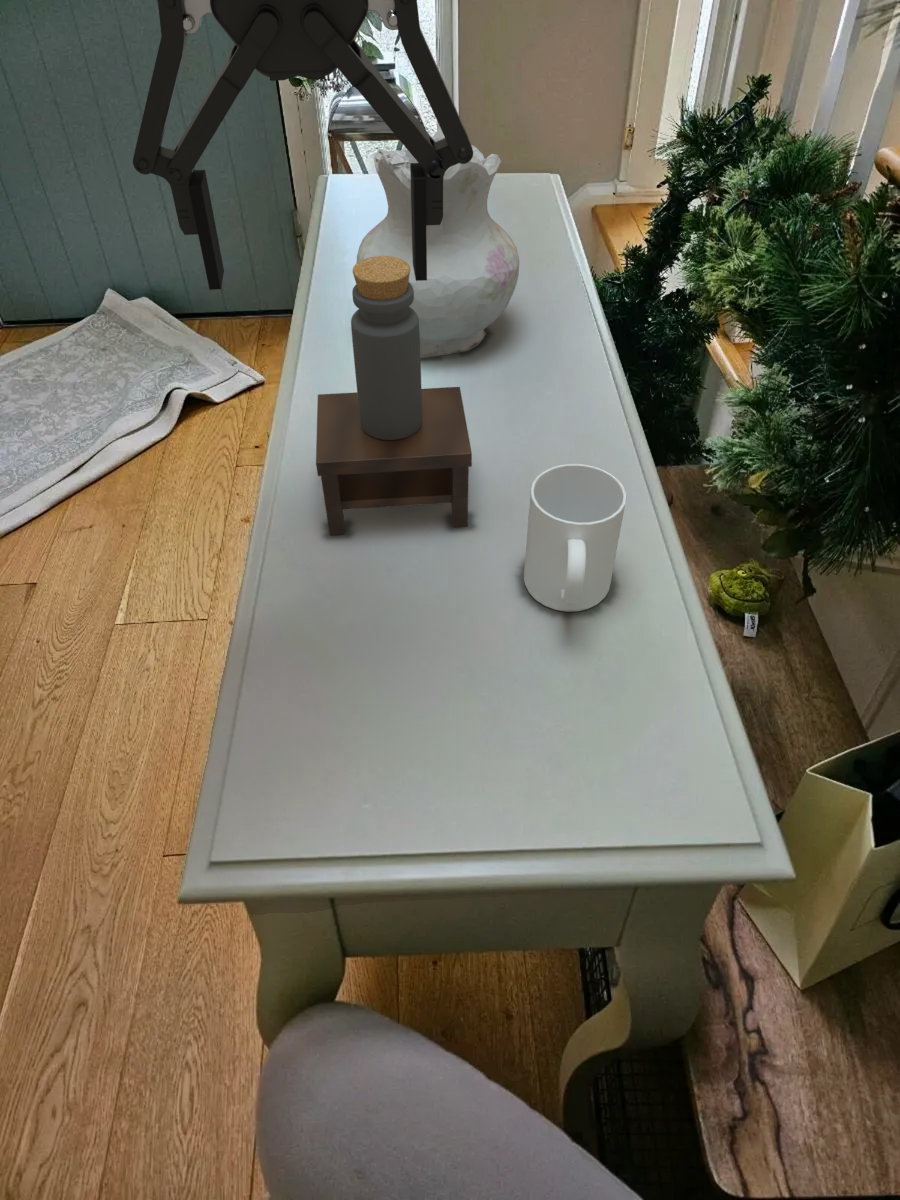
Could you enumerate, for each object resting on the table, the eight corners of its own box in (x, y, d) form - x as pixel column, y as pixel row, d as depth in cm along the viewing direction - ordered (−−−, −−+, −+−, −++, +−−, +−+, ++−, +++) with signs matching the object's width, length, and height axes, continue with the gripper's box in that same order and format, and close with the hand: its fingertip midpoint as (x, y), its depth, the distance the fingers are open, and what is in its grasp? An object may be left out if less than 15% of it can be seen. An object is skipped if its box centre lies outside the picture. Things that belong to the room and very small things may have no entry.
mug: (525, 549, 82) (532, 460, 74) (609, 555, 81) (625, 466, 73) (519, 646, 73) (526, 557, 66) (612, 653, 73) (630, 564, 65)
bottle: (384, 449, 78) (372, 291, 67) (348, 420, 81) (331, 265, 70) (435, 425, 80) (431, 270, 69) (398, 398, 83) (389, 245, 72)
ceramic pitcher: (366, 300, 118) (333, 101, 100) (506, 282, 118) (499, 79, 100) (372, 388, 103) (334, 172, 85) (532, 367, 103) (529, 147, 85)
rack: (326, 537, 83) (315, 462, 76) (327, 467, 90) (317, 394, 84) (470, 528, 84) (471, 453, 77) (459, 459, 91) (459, 386, 85)
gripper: (-5, -126, 39) (121, 311, 54) (536, -129, 41) (510, 293, 56) (32, -146, 44) (138, 258, 59) (511, -147, 46) (494, 244, 61)
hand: (319, 276), depth 58 cm, fingers open, 13 cm apart
